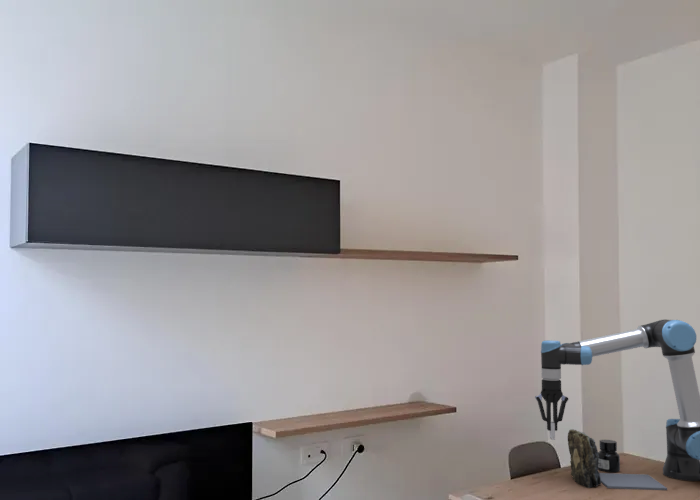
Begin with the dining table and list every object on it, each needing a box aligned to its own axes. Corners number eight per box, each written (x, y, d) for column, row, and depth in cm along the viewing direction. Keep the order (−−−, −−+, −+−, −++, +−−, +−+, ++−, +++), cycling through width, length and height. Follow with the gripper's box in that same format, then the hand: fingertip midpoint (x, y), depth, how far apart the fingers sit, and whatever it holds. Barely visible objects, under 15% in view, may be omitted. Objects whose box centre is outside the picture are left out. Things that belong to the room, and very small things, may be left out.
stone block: (606, 487, 244) (605, 434, 245) (585, 488, 242) (584, 435, 244) (579, 474, 262) (578, 425, 263) (560, 475, 260) (559, 426, 261)
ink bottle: (593, 467, 274) (593, 438, 275) (613, 467, 274) (613, 438, 275) (603, 473, 264) (602, 443, 265) (624, 473, 265) (623, 443, 265)
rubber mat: (648, 476, 260) (648, 474, 260) (667, 490, 241) (667, 488, 241) (592, 474, 262) (592, 472, 262) (607, 488, 243) (607, 486, 243)
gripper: (565, 378, 259) (566, 437, 257) (532, 377, 260) (533, 436, 258) (570, 380, 252) (571, 441, 250) (536, 380, 253) (537, 440, 251)
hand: (552, 438), depth 254 cm, fingers closed
